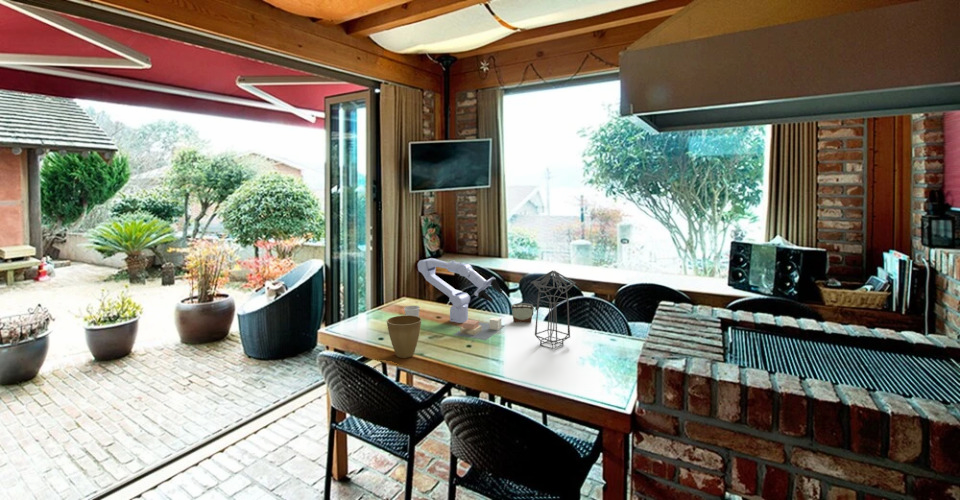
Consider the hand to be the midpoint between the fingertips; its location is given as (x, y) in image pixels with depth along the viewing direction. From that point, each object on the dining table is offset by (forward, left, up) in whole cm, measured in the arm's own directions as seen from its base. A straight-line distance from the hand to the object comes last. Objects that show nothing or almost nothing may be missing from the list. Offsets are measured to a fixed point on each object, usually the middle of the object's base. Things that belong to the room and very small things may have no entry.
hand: (496, 296), depth 227 cm
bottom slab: (-9, -12, -16) cm, 22 cm away
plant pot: (-22, -50, -17) cm, 58 cm away
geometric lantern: (+33, -12, -17) cm, 40 cm away
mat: (-6, -8, -17) cm, 20 cm away
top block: (0, -2, -16) cm, 16 cm away
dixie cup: (-43, -14, -17) cm, 48 cm away
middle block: (-9, -12, -14) cm, 21 cm away
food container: (+8, +16, -17) cm, 25 cm away
